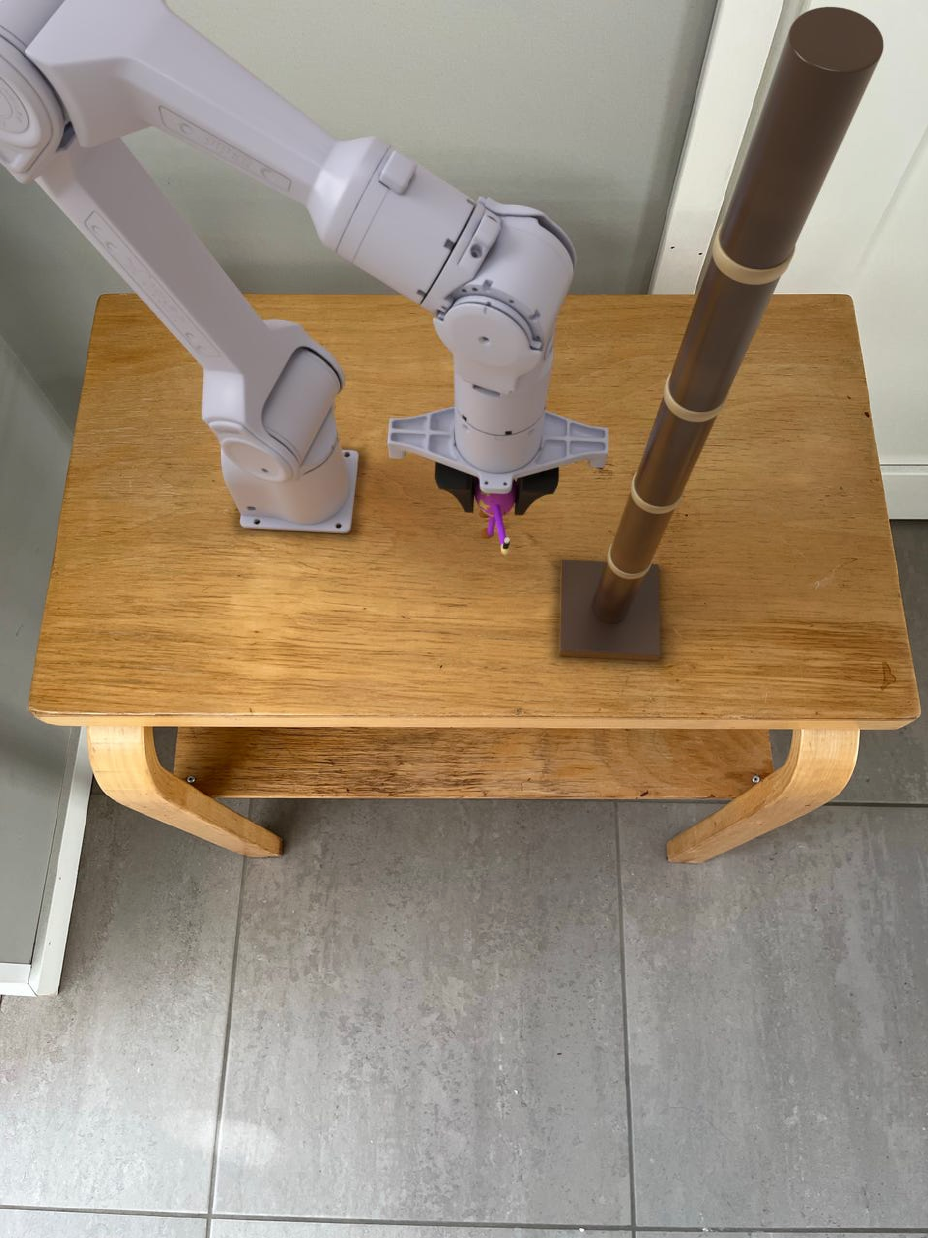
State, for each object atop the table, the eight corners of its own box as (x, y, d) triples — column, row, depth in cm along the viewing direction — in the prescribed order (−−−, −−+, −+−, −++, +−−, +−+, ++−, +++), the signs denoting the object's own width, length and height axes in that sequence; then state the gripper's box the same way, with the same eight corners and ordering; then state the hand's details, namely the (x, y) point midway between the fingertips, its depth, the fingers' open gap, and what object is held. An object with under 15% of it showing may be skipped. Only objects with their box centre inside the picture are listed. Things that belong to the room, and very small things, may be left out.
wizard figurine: (462, 466, 74) (462, 376, 63) (500, 461, 74) (507, 370, 63) (484, 592, 70) (488, 521, 59) (525, 587, 70) (537, 514, 59)
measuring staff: (558, 656, 74) (716, 125, 28) (560, 566, 77) (705, -51, 31) (657, 661, 74) (982, 136, 28) (655, 571, 77) (947, -43, 30)
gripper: (377, 446, 55) (393, 545, 67) (619, 458, 54) (590, 555, 67) (386, 349, 57) (401, 462, 70) (618, 359, 57) (590, 471, 70)
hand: (494, 502), depth 69 cm, fingers closed on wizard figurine, 3 cm apart
